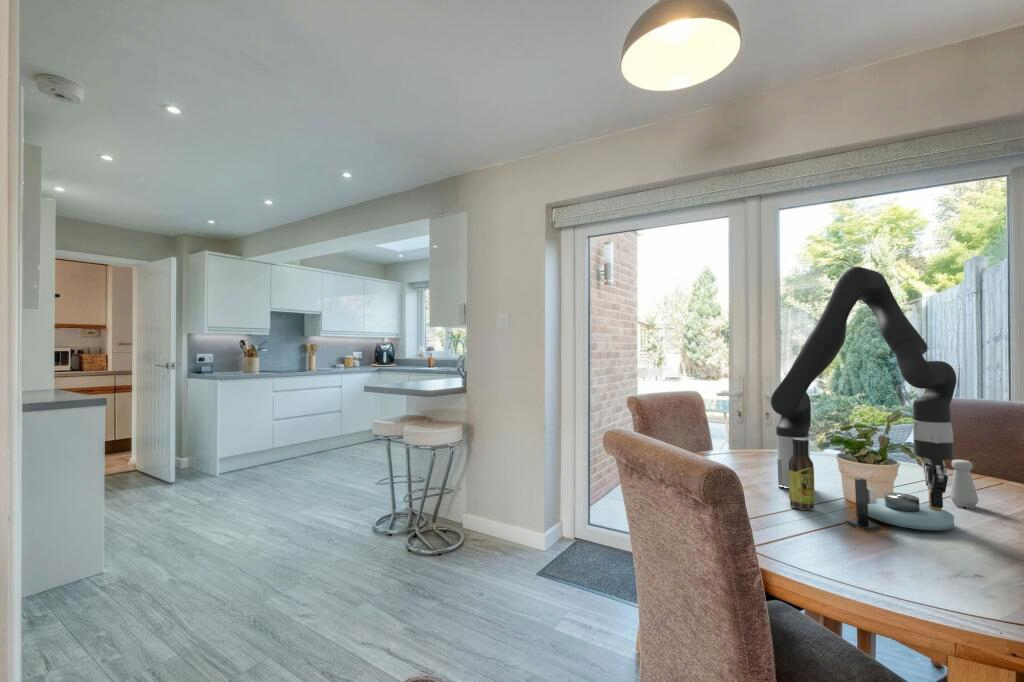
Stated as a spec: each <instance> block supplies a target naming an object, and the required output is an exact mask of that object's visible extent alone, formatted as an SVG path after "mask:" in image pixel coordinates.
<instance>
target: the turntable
mask: <svg viewBox="0 0 1024 682" xmlns="http://www.w3.org/2000/svg"><path fill="white" fill-rule="evenodd" d="M927 490H928V489H927ZM927 492H928V494H927V495H928V503H927V504H926V503H922V502H919V505H920V511H919V512H902V511H897V510H893V509H890V508H887V507H886V506H885V497H884V498H880V497H879V498H878V497H877V498H876V499H877V503H876V504H868V518H869V517H870V518H872V519H874V520H877V521H878V522H882V523H885V524H889V525H893V526H897V527H903V528H908V529H914V530H915V529H916V530H922V531H944V530H945V531H946V530H951V529H953V528H954V527H955V517H954V514H952V513H951V512H949V511H947V510H945V509H943V508H936V507H932V506H931V504H930V493H929V490H928V491H927Z"/></svg>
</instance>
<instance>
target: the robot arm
mask: <svg viewBox="0 0 1024 682" xmlns="http://www.w3.org/2000/svg"><path fill="white" fill-rule="evenodd" d="M858 301H862V302H863V304H864V303H865V305H866V306H868V308H869V309H870V310H871V311H872V312H873V314H874V316H875V317H876V320H877V324H878V327H879V331H880V334H881V336H882V338H883V339H884V341H885V342H886V344H887V345H888V347H889V349H890V350H891V351H892V352H893V354H894V355H895V358H896V362H897V364H898V367H899V369H900V373H901V376H902V378H903V379H904V381H906V382H907V383H908V384H909V385H910V386H912V387H913V388H916V389H924V391H923V395H922V396H920V397H917V398H916V399H914V400H913V404H912V408H913V409H912V411H913V425H912V426H913V427H912V435H913V453H914V455H915V457H919V458H924V459H925V461H924V462H922V469H923V475H924V480H925V486H926V487H927V490H929V493H930V504H931V506H932V507H936V508H942V509H943V507H944V502H943V501H944V500H943V499H944V497H943V494H944V493H946V491H947V484H948V479H949V477H948V469H947V466H945V464H944V461H945V460H946V461H947V460H948V461H949V460H951V461H952V460H954V458H955V447H954V445H955V444H954V431H953V427H952V421H951V420H952V418H951V403H952V401H953V396H954V395H955V394H954V392H955V389H956V385H957V374H956V372H955V369H954V368H953V366H952V365H951V364H950V363H948V362H945V361H943V360H941V361H940V360H928V361H927V360H926V359H925V358H924V354H925V353H927V351H928V349H929V348H928V343H926V341H925V340H924V339H923V337H922V336H921V335H920V333H919V332H918V331H917V330H916V328H915V327H914V326H913V324H912V323H911V322H910V320H909V319H908V318H907V316H906V315H905V313H904V312H903V310H902V308H901V307H900V305H899V303H898V301H897V300H896V298H895V296H894V294H893V292H892V290H891V288H890V286H889V283H888V281H887V280H886V278H885V277H884V274H882V273H880V272H879V271H876V270H872V269H869V268H866V267H862V266H852V267H850V268H847V269H846V270H844V272H842V273H841V274H840V276H839V277H838V279H837V280H836V282H835V285H834V288H833V290H832V292H831V294H830V297H829V299H828V301H827V304H826V306H825V307H824V309H823V311H822V313H821V314H820V316H819V318H818V320H817V322H816V323H815V325H814V327H813V328H812V330H811V332H810V333H809V335H808V336H807V338H806V340H805V342H804V343H803V345H802V347H801V349H800V351H799V353H798V355H797V356H796V358H795V360H794V361H793V363H792V365H791V367H790V369H789V371H788V372H787V373H786V376H785V377H784V378H783V379H782V381H781V382H780V383H779V385H778V386H777V387H776V389H775V390H774V391H773V393H772V394H771V398H770V406H771V408H772V410H773V411H774V412H775V413H777V414H778V415H780V420H779V422H778V424H777V425H776V428H775V431H776V433H775V434H776V449H777V450H776V451H777V452H776V453H777V457H776V458H777V459H776V461H777V463H776V464H777V482H778V485H782V486H786V487H789V460H790V459H791V457H792V455H793V443H792V439H793V438H804V439H808V440H809V441H810V428H811V424H812V413H811V412H812V408H811V407H812V406H811V404H812V403H811V399H810V396H809V393H807V390H808V389H809V387H811V384H812V383H813V382H814V381H815V379H817V378H818V377H819V376H820V375H821V374H822V373H823V372H824V371H825V370H826V369H827V368H829V366H830V365H831V364H832V362H834V360H835V359H836V357H837V356H838V354H839V352H840V351H841V349H842V348H843V346H844V344H845V341H846V337H847V336H846V335H847V324H848V319H849V315H850V314H851V311H852V310H853V308H854V307H855V305H856V304H857V302H858ZM810 451H811V450H810V444H809V445H808V453H809V454H808V456H809V458H810V459H811V455H810Z"/></svg>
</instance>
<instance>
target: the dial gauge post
mask: <svg viewBox="0 0 1024 682" xmlns="http://www.w3.org/2000/svg"><path fill="white" fill-rule="evenodd" d="M867 483H868V482H867V478H863V477H862V478H861V477H855V478H854V490H855V491H854V492H855V509H856V519H849V520H848V519H846V520H845V524H846V523H848V524H850V525H849V526H851V525H852V526H851V527H853V526H855V527H854V528H856V527H858V528H860V529H859V530H861V529H863V530H867V531H873V530H872V529H876V530H881V529H882V527H881V525H880V524H877V523H874V522H872V521H869V516H868V504H876V503H877V499H878V498H877V489H876V488H873V487H870V486H868V484H867ZM848 524H847V525H848ZM858 528H857V529H858ZM863 530H862V531H863Z"/></svg>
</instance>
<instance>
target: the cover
mask: <svg viewBox="0 0 1024 682" xmlns="http://www.w3.org/2000/svg"><path fill="white" fill-rule="evenodd" d="M884 498H885V506H886V507H887V508H890V509H893V510H897V511H902V512H919V511H920V505H919V503H920V498H919V497H918V496H915V495H911V494H907V493H901V492H885V493H884Z"/></svg>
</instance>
